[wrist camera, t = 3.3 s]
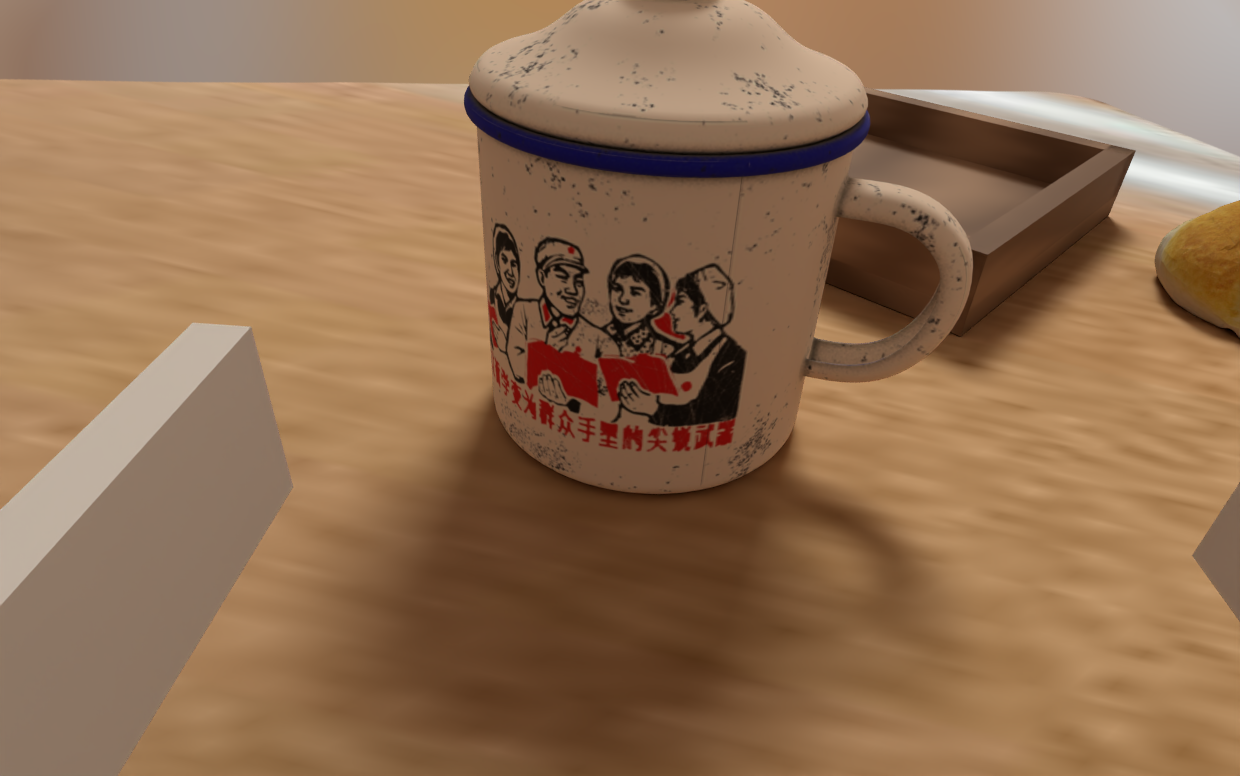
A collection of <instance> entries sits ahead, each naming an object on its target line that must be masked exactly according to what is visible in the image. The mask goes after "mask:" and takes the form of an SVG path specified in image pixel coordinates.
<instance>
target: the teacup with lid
mask: <svg viewBox="0 0 1240 776" xmlns="http://www.w3.org/2000/svg"><path fill="white" fill-rule="evenodd" d="M464 106H465V110H466V113H467V115H468V116H469V118H470V119H471V121H472V122H473V123H474V124H475V125H476V126H477V137H478V153H479V169H480V185H481V202H482V218H483V234H484V250H485V266H486V282H487V298H488V314H489V330H490V346H491V363H492V379H493V395H494V402H495V407H496V411H497V413H498V416H499V419H500V421H501V422H502V424H503V426H504V428H505V429H506V431H507V432H508V434H509V435H510V436H511V438H512V439H513V440H514V441H515V442H516V443H517V444H518V445H519V446H520V447H521V448H522V449H523V450H524V451H525V452H527V453H528V454H529V455H530V456H531V457H533V458H534V459H536V460H537V461H539V462H540V463H542V464H543V465H545V466H547V467H549V468H550V469H552V470H554V471H556V472H558V473H560V474H562V475H565V476H567V477H569V478H572V479H574V480H577V481H580V482H583V483H586V484H590V485H593V486H597V487H601V488H606V489H611V490H616V491H623V492H631V493H644V494H669V493H683V492H690V491H697V490H702V489H706V488H711V487H714V486H718V485H721V484H724V483H727V482H730V481H732V480H735V479H737V478H740V477H742V476H744V475H746V474H748V473H750V472H752V471H753V470H755V469H757V468H758V467H760V466H761V465H763V464H764V463H765V462H767V461H768V460H769V459H770V458H771V457H773V456H774V455H775V454H776V452H777V451H778V450H779V449H780V448H781V447H782V446H783V444H784V443H785V442H786V440H787V439H788V437H789V435H790V433H791V431H792V429H793V426H794V424H795V420H796V417H797V412H798V407H799V403H800V398H801V393H802V389H803V384H804V379H805V376H807V377H812V378H818V379H823V380H829V381H837V382H870V381H876V380H881V379H884V378H888V377H891V376H893V375H896V374H898V373H901V372H903V371H905V370H907V369H908V368H910V367H912V366H913V365H915V364H917V363H918V362H920V361H921V360H922V359H924V358H925V357H926V356H928V355H929V354H930V353H931V352H932V351H933V350H934V349H935V348H937V346H938V345H939V344H940V343H941V342H942V341H943V340H944V339H945V338H946V336H947V335H948V334H949V332H950V331H951V330H952V329H953V327H954V325H955V324H956V322H957V320H958V319H959V317H960V315H961V313H962V311H963V309H964V307H965V304H966V301H967V298H968V296H969V292H970V287H971V283H972V272H973V257H972V250H971V246H970V242H969V240H968V238H967V235H966V233H965V231H964V230H963V228H962V227H961V225H960V224H959V222H958V221H957V220H956V218H955V217H954V216H953V215H952V214H951V213H950V212H949V210H947V209H946V208H945V207H944V206H943V205H941V204H940V203H939V202H937V201H936V200H934V199H933V198H931V197H930V196H928V195H926V194H923V193H921V192H919V191H917V190H914V189H911V188H908V187H904V186H900V185H896V184H891V183H885V182H879V181H872V180H864V179H857V178H851V177H849V176H848V172H849V167H850V163H851V158H852V153H853V150H854V149H855V148H856V147H857V146H859V145H860V144H861V143H862V142H863V140H864V139H865V138H866V136H867V134H868V131H869V128H870V115H869V113H868V111H867V107H868V98H867V95H866V92H865V89H864V86H863V84H862V82H861V80H860V79H859V78H858V76H857V75H856V74H855V73H854V72H853V71H852V70H851V69H849V68H848V67H847V66H845V65H844V64H842V63H841V62H839V61H837V60H835V59H833V58H831V57H829V56H827V55H824V54H822V53H819V52H816V51H814V50H811V49H808V48H806V47H804V46H803V45H801V44H800V43H798V42H796V41H795V40H794V39H793V38H792V37H790V36H789V35H788V34H787V33H786V32H785V31H784V30H783V29H782V28H781V27H780V26H779V25H778V24H777V23H776V22H775V21H774V20H773V19H772V18H771V17H770V16H769V15H768V14H766V13H765V12H764V11H762V10H761V9H760V8H758V7H757V6H755V5H753V4H751V3H749V2H746V1H744V0H584V1H583V2H581V3H579V4H578V5H576V6H575V7H574V8H572V9H571V10H570V11H568V12H567V13H566V14H564V15H563V16H562V17H561V18H559V19H558V20H557V21H555V22H554V23H553V24H551V25H549V26H547V27H546V28H544V29H542V30H539V31H537V32H534V33H530V34H526V35H523V36H518V37H515V38H512V39H509V40H507V41H504V42H501V43H499V44H497V45H495V46H493V47H491V48H490V49H489V50H487V51H486V52H485V53H484V54H483V55H482V56H481V57H480V58H479V59H478V60H477V62H476V64H475V66H474V67H473V70H472V72H471V74H470V76H469V86H468V88H467V90H466V92H465V95H464ZM839 217H843V218H849V219H856V220H863V221H869V222H875V223H879V224H884V225H888V226H892V227H895V228H898V229H901V230H903V231H905V232H907V233H909V234H911V235H912V236H914V237H915V238H917V239H918V240H919V241H920V242H921V243H923V244H924V246H925V247H926V248H927V249H928V250H929V251H930V253H931V254H932V256H933V257H934V259H935V260H936V263H937V265H938V268H939V272H940V281H939V284H938V287H937V289H936V291H935V293H934V295H933V297H932V298H931V300H930V302H929V303H928V304H927V306H926V307H925V309H924V310H923V311H922V312H921V313H920V314H919V315H918V316H917V317H916V318H915V319H914V320H913V321H912V322H911V323H910V324H909V325H907V326H906V327H905V328H903V329H902V330H900V331H899V332H897V333H895V334H893V335H892V336H890V337H887V338H885V339H882V340H879V341H875V342H870V343H861V344H852V343H839V342H832V341H826V340H820V339H816V338H814V333H815V328H816V323H817V318H818V314H819V309H820V304H821V300H822V295H823V290H824V286H825V281H826V276H827V271H828V267H829V262H830V257H831V253H832V248H833V243H834V238H835V234H836V229H837V224H838V220H839Z"/></svg>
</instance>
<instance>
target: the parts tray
mask: <svg viewBox="0 0 1240 776" xmlns="http://www.w3.org/2000/svg"><path fill="white" fill-rule="evenodd" d="M864 89H865V92H866V95H867V98H868V107H867V111H868V113H869V115H870V128H869V131H868V134H867V136H866V138H865V139H864V140H863V142H862V143H861V144H860V145H859V146H857V147H856V148H855V149H854V150H853V153H852V158H851V163H850V167H849V172H848V176H849V177H851V178H857V179H864V180H872V181H879V182H885V183H891V184H896V185H900V186H904V187H908V188H911V189H914V190H917V191H919V192H921V193H923V194H926V195H928V196H930V197H931V198H933V199H934V200H936V201H937V202H939V203H940V204H941V205H943V206H944V207H945V208H946V209H947V210H949V212H950V213H951V214H952V215H953V216H954V217H955V218H956V220H957V221H958V222H959V224H960V225H961V227H962V228H963V230H964V231H965V233H966V235H967V238H968V240H969V242H970V246H971V250H972V257H973V272H972V283H971V287H970V292H969V296H968V298H967V301H966V304H965V307H964V309H963V311H962V313H961V315H960V317H959V319H958V320H957V322H956V324H955V325H954V327H953V329H952V330H951V331H950V332H951V333H954V334H956V335H959V336H961V335H963V334H964V333H965V332H966V331H968V330H969V329H970V328H971V327H972V326H974V325H975V324H976V323H977V322H979V321H980V320H981V319H982V318H983V317H985V316H986V315H987V314H988V313H990V312H991V311H992V310H993V309H995V308H996V307H997V306H998V305H999V304H1001V303H1002V302H1003V301H1004V300H1006V299H1007V298H1008V297H1009V296H1010V295H1012V294H1013V293H1014V292H1015V291H1017V290H1018V289H1019V288H1020V287H1021V286H1023V285H1024V284H1025V283H1026V282H1028V281H1029V280H1030V279H1031V278H1032V277H1034V276H1035V275H1036V274H1037V273H1039V272H1040V271H1041V270H1042V269H1043V268H1045V267H1046V266H1047V265H1048V264H1050V263H1051V262H1052V261H1053V260H1054V259H1056V258H1057V257H1058V256H1059V255H1061V254H1062V253H1063V252H1064V251H1066V250H1067V249H1068V248H1069V247H1070V246H1072V245H1073V244H1074V243H1075V242H1077V241H1078V240H1079V239H1080V238H1081V237H1083V236H1084V235H1085V234H1086V233H1088V232H1089V231H1090V230H1091V229H1092V228H1094V227H1095V226H1096V225H1097V224H1099V223H1100V222H1101V221H1102V220H1103V219H1105V218H1106V217H1107V216H1108V215H1109V213H1110V211H1111V208H1112V206H1113V204H1114V201H1115V199H1116V197H1117V194H1118V192H1119V189H1120V187H1121V185H1122V182H1123V180H1124V178H1125V175H1126V173H1127V170H1128V168H1129V166H1130V163H1131V161H1132V158H1133V156H1134V154H1135V150H1130V149H1126V148H1122V147H1118V146H1113V145H1109V144H1105V143H1101V142H1096V141H1092V140H1088V139H1083V138H1079V137H1075V136H1071V135H1066V134H1062V133H1058V132H1054V131H1049V130H1045V129H1041V128H1036V127H1032V126H1028V125H1024V124H1019V123H1015V122H1011V121H1007V120H1002V119H998V118H994V117H989V116H985V115H981V114H977V113H972V112H968V111H964V110H959V109H955V108H951V107H947V106H942V105H938V104H934V103H930V102H925V101H921V100H917V99H912V98H908V97H904V96H900V95H895V94H891V93H887V92H883V91H878V90H874V89H870V88H865V87H864ZM939 281H940V272H939V268H938V265H937V263H936V260H935V259H934V257H933V256H932V254H931V253H930V251H929V250H928V249H927V248H926V247H925V246H924V244H923V243H921V242H920V241H919V240H918V239H917V238H915V237H914V236H912V235H911V234H909V233H907V232H905V231H903V230H901V229H898V228H895V227H892V226H888V225H884V224H879V223H875V222H869V221H863V220H856V219H849V218H843V217H839V220H838V224H837V229H836V234H835V238H834V243H833V248H832V253H831V257H830V262H829V267H828V271H827V276H826V281H825V282H826V283H828V284H831V285H833V286H836V287H838V288H841V289H843V290H846V291H848V292H851V293H853V294H856V295H858V296H861V297H863V298H866V299H868V300H871V301H873V302H876V303H878V304H881V305H883V306H886V307H888V308H891V309H893V310H896V311H898V312H901V313H903V314H906V315H908V316H911V317H913V318H916V317H917V316H918V315H919V314H920V313H921V312H922V311H923V310H924V309H925V307H926V306H927V304H928V303H929V302H930V300H931V298H932V297H933V295H934V293H935V291H936V289H937V287H938V284H939Z"/></svg>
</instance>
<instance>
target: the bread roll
mask: <svg viewBox="0 0 1240 776" xmlns="http://www.w3.org/2000/svg"><path fill="white" fill-rule="evenodd" d="M1155 267H1156V272H1157V275H1158V278H1159V280H1160V282H1161V284H1162V286H1163V287H1164V289H1165V290H1166V292H1167V293H1168V294H1169V296H1170V297H1171V299H1172V300H1173V301H1174V302H1175V303H1176V304H1178V305H1179V306H1181V307H1183V308H1184V309H1185V310H1187V311H1188V312H1190V313H1192V314H1193V315H1195V316H1197V317H1199V318H1201V319H1203V320H1205V321H1207V322H1209V323H1212V324H1214V325H1216V326H1217V327H1220V328H1230V329H1231V330H1233V331H1235V333H1236V334H1237V335H1238V337H1239V338H1240V200H1239V201H1236V202H1233V203H1230V204H1227V205H1224V206H1221V207H1219V208H1217V209H1215V210H1213V211H1211V212H1209V213H1206V214H1204V215H1202V216H1199V217H1197V218H1195V219H1191V220H1189V221H1186V222H1184V223H1183V224H1181V225H1179V226H1177V227H1176V228H1175V229H1173V230H1172V231H1170V232H1169V233H1168V234H1167V235H1166V236H1165V237H1164V238H1163V240H1162V242H1161V243H1160V245H1159V247H1158V249H1157V252H1156V256H1155Z"/></svg>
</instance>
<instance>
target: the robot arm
mask: <svg viewBox="0 0 1240 776" xmlns="http://www.w3.org/2000/svg"><path fill="white" fill-rule="evenodd" d="M292 488H293V484H292V481H291V477H290V473H289V469H288V465H287V462H286V458H285V454H284V450H283V446H282V443H281V439H280V435H279V431H278V427H277V424H276V420H275V416H274V412H273V408H272V404H271V401H270V397H269V393H268V389H267V385H266V382H265V378H264V374H263V370H262V366H261V363H260V359H259V355H258V351H257V347H256V344H255V340H254V336H253V332H252V328H251V327H246V326H232V325H218V324H203V323H192V324H191V325H190V326H189V327H188V328H187V329H186V330H185V331H184V332H183V333H182V334H181V335H180V336H179V337H178V338H177V339H176V340H175V341H174V342H173V343H172V344H171V345H169V346H168V347H167V348H166V349H165V350H164V351H163V352H162V353H161V354H160V355H159V356H158V357H157V358H156V359H155V360H154V361H153V362H152V363H151V364H150V365H149V366H148V367H147V368H146V369H145V370H144V371H143V372H142V373H141V374H140V375H139V376H138V377H137V378H136V379H135V380H133V381H132V382H131V383H130V384H129V385H128V386H127V387H126V388H125V389H124V390H123V391H122V392H121V393H120V394H119V395H118V396H117V397H116V398H115V399H114V400H113V401H112V402H111V403H110V404H109V405H108V406H107V407H106V408H105V409H104V410H103V411H102V412H101V413H100V414H99V415H97V416H96V417H95V418H94V419H93V420H92V421H91V422H90V423H89V424H88V425H87V426H86V427H85V428H84V429H83V430H82V431H81V432H80V433H79V434H78V435H77V436H76V437H75V438H74V439H73V440H72V441H71V442H70V443H69V444H68V445H67V446H66V447H65V448H64V449H63V450H61V451H60V452H59V453H58V454H57V455H56V456H55V457H54V458H53V459H52V460H51V461H50V462H49V463H48V464H47V465H46V466H45V467H44V468H43V469H42V470H41V471H40V472H39V473H38V474H37V475H36V476H35V477H34V478H33V479H32V480H31V481H30V482H29V483H28V484H27V485H25V486H24V487H23V488H22V489H21V490H20V491H19V492H18V493H17V494H16V495H15V496H14V497H13V498H12V499H11V500H10V501H9V502H8V503H7V504H6V505H5V506H4V507H3V508H2V509H1V510H0V776H118V774H119V773H120V771H121V769H122V768H123V766H124V764H125V763H126V761H127V759H128V758H129V756H130V754H131V753H132V751H133V750H134V748H135V746H136V745H137V743H138V741H139V740H140V738H141V736H142V735H143V733H144V731H145V730H146V728H147V726H148V725H149V723H150V722H151V720H152V718H153V717H154V715H155V713H156V712H157V710H158V708H159V707H160V705H161V703H162V702H163V700H164V699H165V697H166V695H167V694H168V692H169V690H170V689H171V687H172V685H173V684H174V682H175V680H176V679H177V677H178V676H179V674H180V672H181V671H182V669H183V667H184V666H185V664H186V662H187V661H188V659H189V657H190V656H191V654H192V653H193V651H194V649H195V648H196V646H197V644H198V643H199V641H200V639H201V638H202V636H203V634H204V633H205V631H206V630H207V628H208V626H209V625H210V623H211V621H212V620H213V618H214V616H215V615H216V613H217V611H218V610H219V608H220V607H221V605H222V603H223V602H224V600H225V598H226V597H227V595H228V593H229V592H230V590H231V588H232V587H233V585H234V584H235V582H236V580H237V579H238V577H239V575H240V574H241V572H242V570H243V569H244V567H245V565H246V564H247V562H248V561H249V559H250V557H251V556H252V554H253V552H254V551H255V549H256V547H257V546H258V544H259V542H260V541H261V539H262V537H263V536H264V534H265V533H266V531H267V529H268V528H269V526H270V524H271V523H272V521H273V519H274V518H275V516H276V514H277V513H278V511H279V510H280V508H281V506H282V505H283V503H284V501H285V500H286V498H287V496H288V495H289V493H290V491H291V490H292ZM1192 556H1193V557H1194V559H1195V560H1196V561H1197V563H1198V564H1199V566H1200V567H1201V568H1202V570H1203V571H1204V572H1205V574H1206V575H1207V577H1208V578H1209V579H1210V581H1211V582H1212V584H1213V585H1214V586H1215V588H1216V589H1217V591H1218V592H1219V593H1220V595H1221V596H1222V598H1223V599H1224V600H1225V602H1226V603H1227V605H1228V606H1229V607H1230V609H1231V610H1232V611H1233V613H1234V614H1235V616H1236V617H1237V618H1238V620H1239V621H1240V483H1239V484H1238V486H1237V487H1236V489H1235V491H1234V492H1233V494H1232V495H1231V497H1230V498H1229V500H1228V501H1227V503H1226V504H1225V506H1224V507H1223V509H1222V510H1221V512H1220V514H1219V515H1218V517H1217V518H1216V520H1215V521H1214V523H1213V524H1212V526H1211V527H1210V529H1209V530H1208V532H1207V534H1206V535H1205V537H1204V538H1203V540H1202V541H1201V543H1200V544H1199V546H1198V547H1197V549H1196V550H1195V552H1194V553H1193V555H1192Z"/></svg>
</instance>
